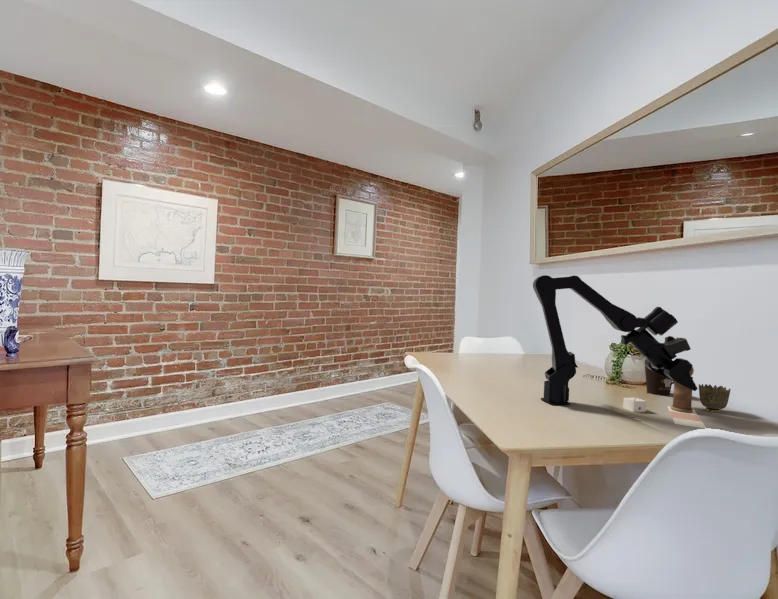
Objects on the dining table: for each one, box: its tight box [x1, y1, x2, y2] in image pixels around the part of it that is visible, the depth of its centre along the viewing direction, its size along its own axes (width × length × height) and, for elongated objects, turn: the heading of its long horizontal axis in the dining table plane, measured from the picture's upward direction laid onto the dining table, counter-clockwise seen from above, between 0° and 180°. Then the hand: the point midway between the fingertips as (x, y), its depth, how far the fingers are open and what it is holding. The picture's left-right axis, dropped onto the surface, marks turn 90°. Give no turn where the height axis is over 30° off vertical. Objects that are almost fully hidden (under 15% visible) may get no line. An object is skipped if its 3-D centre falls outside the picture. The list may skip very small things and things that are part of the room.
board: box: [666, 405, 707, 429], centre depth 117 cm, size 21×8×1 cm, turn 151°
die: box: [622, 397, 647, 413], centre depth 121 cm, size 4×4×4 cm
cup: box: [698, 383, 731, 413], centre depth 124 cm, size 8×7×8 cm
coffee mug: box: [644, 365, 674, 397], centre depth 144 cm, size 12×9×10 cm
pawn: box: [671, 366, 694, 414], centre depth 123 cm, size 5×5×14 cm
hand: (688, 386), depth 122 cm, fingers open, 9 cm apart
